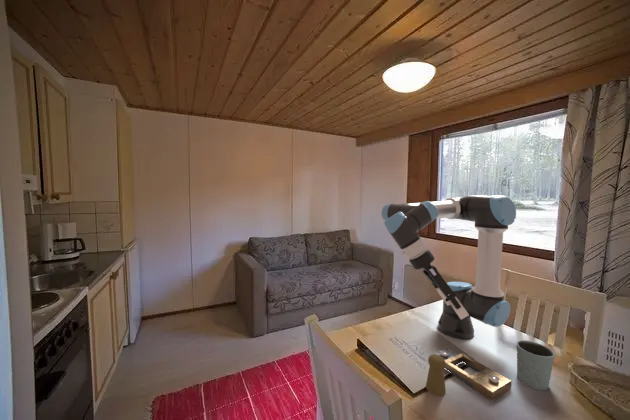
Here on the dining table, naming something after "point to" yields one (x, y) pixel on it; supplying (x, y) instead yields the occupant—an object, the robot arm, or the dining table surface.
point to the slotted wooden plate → (476, 375)
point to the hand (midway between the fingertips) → (457, 309)
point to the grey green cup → (534, 364)
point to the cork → (436, 375)
